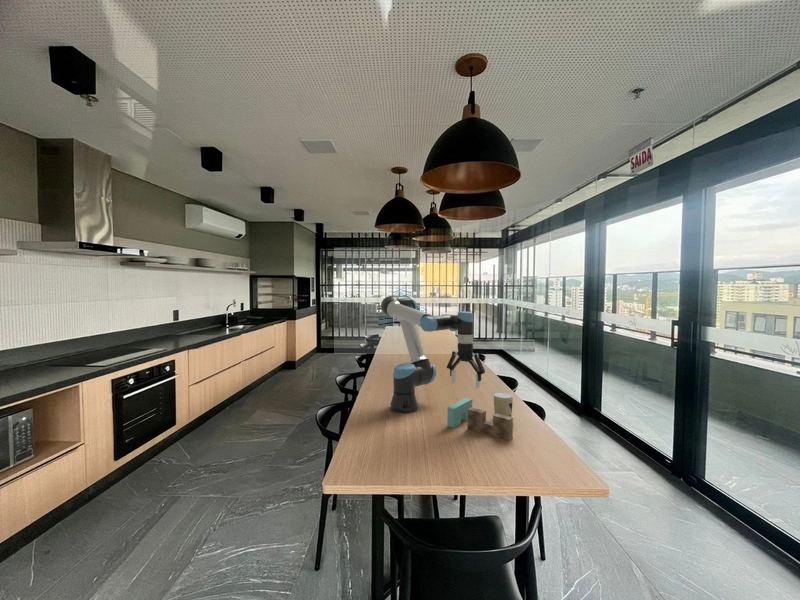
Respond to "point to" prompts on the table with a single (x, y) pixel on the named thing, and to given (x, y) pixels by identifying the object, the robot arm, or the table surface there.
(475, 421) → the walnut rail
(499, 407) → the coffee cup
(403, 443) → the table surface
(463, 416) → the teal rectangular block
